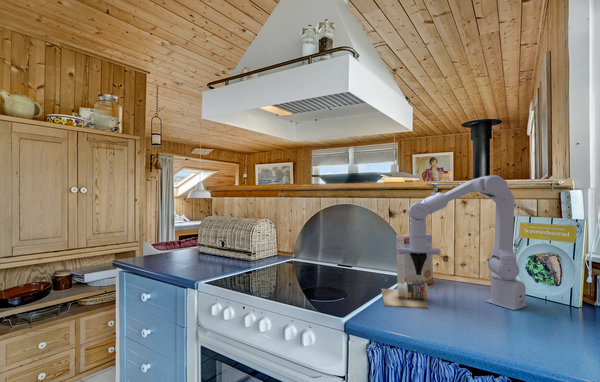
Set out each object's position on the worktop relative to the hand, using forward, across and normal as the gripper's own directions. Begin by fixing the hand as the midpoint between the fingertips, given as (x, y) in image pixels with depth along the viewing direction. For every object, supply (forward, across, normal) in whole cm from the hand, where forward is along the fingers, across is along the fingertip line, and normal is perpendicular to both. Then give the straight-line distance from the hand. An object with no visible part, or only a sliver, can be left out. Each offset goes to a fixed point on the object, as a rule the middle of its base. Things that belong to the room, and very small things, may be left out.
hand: (418, 274), depth 114 cm
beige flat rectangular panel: (+9, +6, 0) cm, 10 cm away
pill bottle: (+5, -3, +1) cm, 6 cm away
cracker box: (+9, -2, -19) cm, 21 cm away
